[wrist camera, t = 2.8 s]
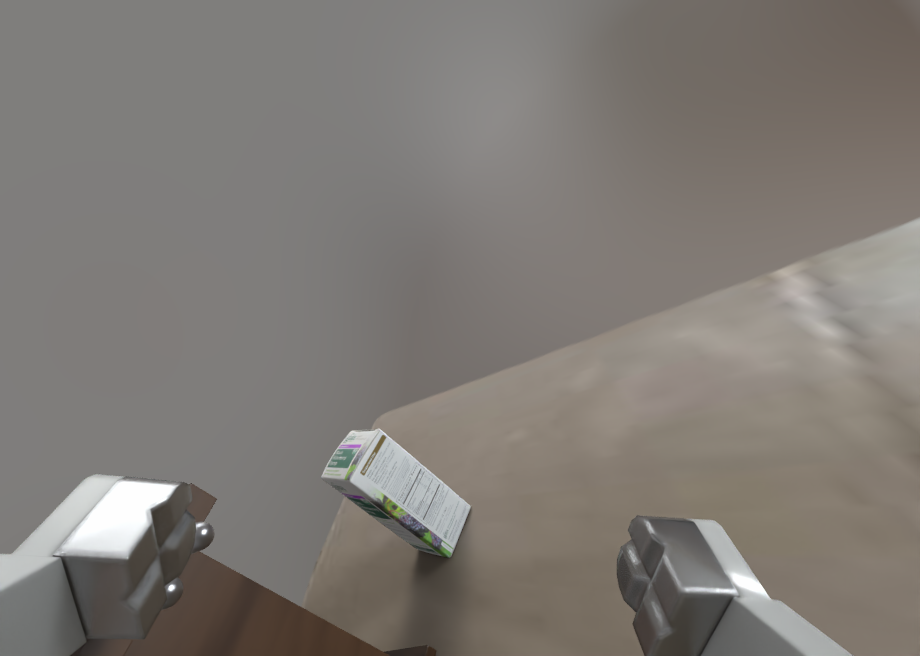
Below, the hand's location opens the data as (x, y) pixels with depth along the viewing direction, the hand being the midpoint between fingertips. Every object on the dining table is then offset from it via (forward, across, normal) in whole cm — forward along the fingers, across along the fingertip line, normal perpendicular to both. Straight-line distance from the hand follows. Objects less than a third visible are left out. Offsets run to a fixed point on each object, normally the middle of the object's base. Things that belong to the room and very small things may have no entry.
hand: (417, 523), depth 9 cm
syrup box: (+30, -5, +34) cm, 46 cm away
